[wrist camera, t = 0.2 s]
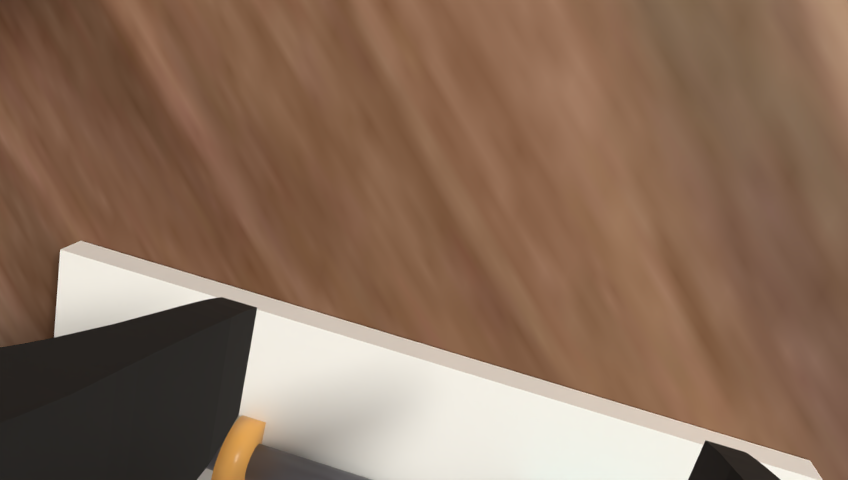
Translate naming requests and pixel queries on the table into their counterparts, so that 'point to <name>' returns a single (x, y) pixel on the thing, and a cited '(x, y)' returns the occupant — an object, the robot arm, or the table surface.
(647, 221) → the table surface
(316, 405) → the cable board
